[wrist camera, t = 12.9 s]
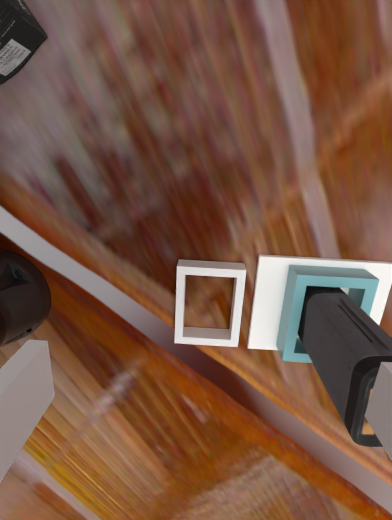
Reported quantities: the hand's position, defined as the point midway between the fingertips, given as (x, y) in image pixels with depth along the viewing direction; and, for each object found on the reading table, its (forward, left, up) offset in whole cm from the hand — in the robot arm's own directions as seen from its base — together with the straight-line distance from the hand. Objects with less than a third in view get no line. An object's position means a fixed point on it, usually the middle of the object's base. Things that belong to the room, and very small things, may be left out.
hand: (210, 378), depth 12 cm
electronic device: (+17, -13, -32) cm, 38 cm away
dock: (+18, -13, -33) cm, 39 cm away
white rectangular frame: (+1, -13, -33) cm, 35 cm away
